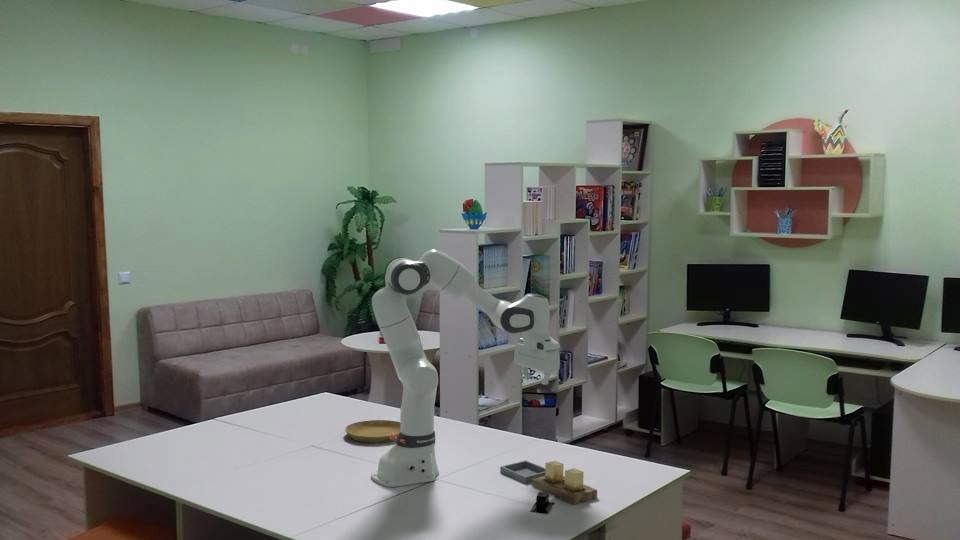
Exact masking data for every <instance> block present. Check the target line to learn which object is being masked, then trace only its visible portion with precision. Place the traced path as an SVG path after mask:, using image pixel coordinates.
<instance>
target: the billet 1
mask: <svg viewBox="0 0 960 540" xmlns="http://www.w3.org/2000/svg"><path fill="white" fill-rule="evenodd" d="M544 468H545V481H546V482H548V483H551V484H553V485H554V484H558V483H562V482H563V476H564V463H562V462H559V461H556V460H552V461H548V462H545V466H544Z"/></svg>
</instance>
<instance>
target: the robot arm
mask: <svg viewBox="0 0 960 540" xmlns="http://www.w3.org/2000/svg"><path fill="white" fill-rule="evenodd" d="M428 284H431V285H432V286H434V287H435V288H437V289H438V290H439V291H440V292H443V293H444V294H446V295H448V296H449V297H452V298H454V299H457V300H464V301H467V302H468V303H470V304H471V305H473V306H474V307H476V308H477V309H478V310H480V311H482V312H483V313H484V314H485V315H486V316H487V317H488V319H489V321H490V323H491V325H493V326H494V327H495V328H496V329H499V330H501V331H504V332H506V333H507V334H512V335H513V334H514V335H515V334H518V333H519V334H520V333H523V336H522V337H523V338H522V337H519V338H518V339H517V340H516V342H515V343H516V345H515V348H514V356H513V357H514V358H513V361H514V364H515V365H518V366H521V369H520V370H522V374H523V379H524V380H531V374H530V373H529V369H533V370H537V371H540V372H543V375H544V376H543V378H541V384H542V385H543V386H544V385H545V386H547V385H549V379H550V377H551V375H552V374H555V373H556V374H557V373H558V372H559V371H560V369H561V367H560V365H561V359H560V357H561V355H560V352H559V349H560V348H561V347H560V343H559V342H558V341H557V340H555V339H554V338H553V337H552V336H550V328H549V325H550V324H549V323H550V316H551V315H550V312H551V311H550V304H549V303H550V302H549V299H548V298H547V297H546V296H544V295H540V294H537V293H526V294H525V295H524V296H523V297H522V298H520V299H519V300H516V301H515V302H511V301H510V300H506V299H501V298H497V297H495V296H493V295H492V294H490V293H489V292H487V291H486V290H485V289H484V288H483V287H481V286H479V285H478V283H477V281H476V277H475V275H474V273H472V271H471V270H470V269H469V268H467V267H466V266H465V265H464V264H462V263H461V262H459V260H457V259H455V258H453V257H452V256H450V255H448V254H447V253H444V252H442V251H440V250H438V249H429V250H427V251H425V252H424V253H423V254H422V255H421V256H420V258H419V259H418V260H412V259H410V258H407V257H402V256H398V257H396V258H393V259H391V260H390V261H389V262H388V263H387V264H386V266H385V269H384V276H383V282H382V286H383V287H382V288H380V289H378V290H377V291H376V292H375V293H374V294H373V296H372V297H371V304H372V309H373V314H374V316H375V320H376V323H377V325H378V328H379V330H380V333H381V335H382V337H383V339H384V342H385V344H386V347H387V350H388V353H389V356H390V359H391V362H392V364H393V367H394V371H395V372H396V375H397V378H398V379H399V381H400V382H401V383H402V387H403V388H402V390H403V392H402V400H401V406H400V408H399V411H400V413H399V414H400V415H399V417H400V418H399V420H400V421H399V422H400V432H399V434H398V436H397V435H395V434H393V433H392V434H391V435H390V439H391V440H394V441H395V444H394V445H392V447H391V448H389V450H387V452H385V453H384V454H383V455H382V456H381V457H380V458H379V461H378V466H377V471H374V472H371V474H370V475H371V476H370V477H371V480H372V481H373V482H375V483H376V484H379V485H381V486H385V487H387V488H388V487H389V488H390V487H391V488H397V487H402V486H408V485H409V486H410V485H415V484H421V483H426V482H427V483H429V482H434V481H436V478H437V476H438V475H439V474H440V471H439V468H438V464H437V459H436V458H437V457H436V449H435V445H436V431H435V403H436V396H437V388H438V385H439V375H438V371H437V369H436V367H435V366H434V365H433V364H432V363H431V362H430V361H429V359H428V358H427V356H426V353H425V350H424V348H423V343H422V341H421V336H420V333H419V331H418V328H417V326H416V324H415V320H414V319H413V316H412V314H411V311H410V309H409V307H408V303H407V296H409V295H413V294H416V293H417V292H419V291H420V290H421V289H423V287H425V286H426V285H428ZM394 441H393V442H394Z"/></svg>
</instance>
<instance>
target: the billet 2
mask: <svg viewBox="0 0 960 540" xmlns="http://www.w3.org/2000/svg"><path fill="white" fill-rule="evenodd" d="M564 477H565V490H567V491H570V492H572V493H576V492H579V491H583V484H584V471H583V470H580V469H577V468H570V469H566V470H564Z"/></svg>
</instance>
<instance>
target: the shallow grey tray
mask: <svg viewBox="0 0 960 540" xmlns="http://www.w3.org/2000/svg"><path fill="white" fill-rule="evenodd" d="M499 468H500V472H499V473H500V474H502V475H505V476H507V477H510V478H512V479H514V480H516V481H519V482H521V483H523V484H525V485H526V484H529V483H532V479H535V478H538V477H542V476H545V466H541V465H538V464H536V463H533V462H531V461H528V460H522V461H518V462H513V463H510V464H505V465H501V466H500V467H499Z"/></svg>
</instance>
